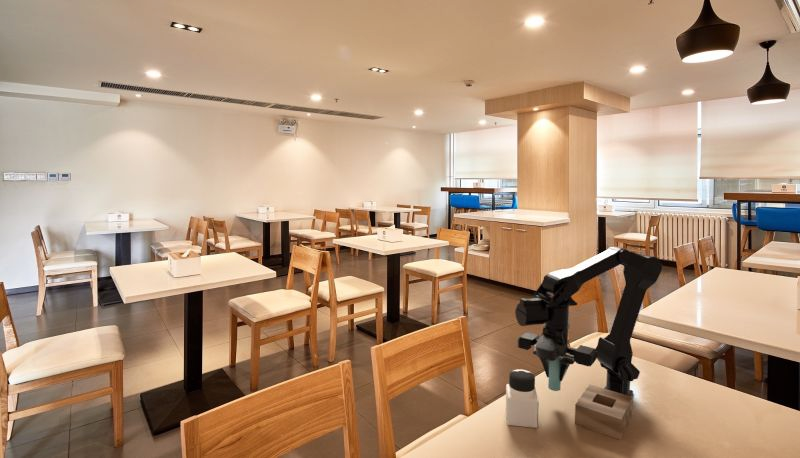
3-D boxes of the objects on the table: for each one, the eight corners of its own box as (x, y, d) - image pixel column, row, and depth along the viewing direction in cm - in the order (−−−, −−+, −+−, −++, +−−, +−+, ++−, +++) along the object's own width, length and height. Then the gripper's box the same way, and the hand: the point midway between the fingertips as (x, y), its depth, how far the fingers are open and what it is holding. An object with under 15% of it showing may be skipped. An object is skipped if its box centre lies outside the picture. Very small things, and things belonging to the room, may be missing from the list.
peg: (550, 383, 109) (551, 352, 108) (562, 387, 107) (563, 355, 106) (546, 388, 107) (547, 356, 106) (558, 392, 105) (559, 359, 104)
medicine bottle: (538, 428, 97) (539, 381, 95) (507, 425, 98) (508, 379, 97) (534, 411, 104) (535, 367, 102) (505, 409, 105) (506, 365, 104)
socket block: (588, 401, 108) (589, 384, 107) (631, 415, 101) (632, 396, 101) (574, 423, 99) (575, 404, 98) (620, 439, 92) (621, 419, 92)
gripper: (509, 323, 105) (508, 380, 107) (585, 341, 93) (582, 404, 95) (526, 311, 113) (525, 364, 115) (598, 326, 101) (595, 385, 103)
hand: (554, 378), depth 107 cm, fingers closed on peg, 3 cm apart
